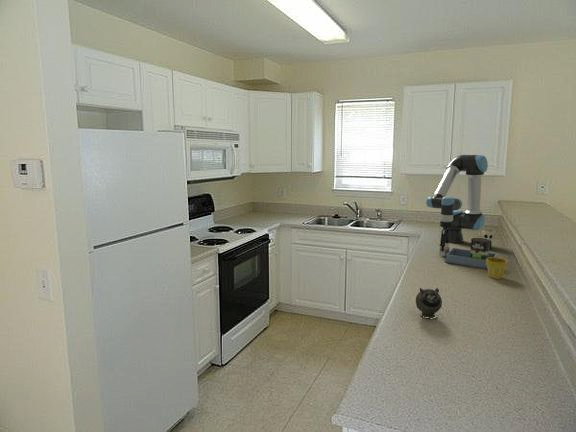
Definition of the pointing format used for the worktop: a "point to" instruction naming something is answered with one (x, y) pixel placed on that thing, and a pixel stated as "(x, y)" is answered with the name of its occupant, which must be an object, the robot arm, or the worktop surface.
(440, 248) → the brown wooden cube
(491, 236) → the character mug
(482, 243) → the coffee can
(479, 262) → the tote
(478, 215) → the robot arm
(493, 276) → the plant pot
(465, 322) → the worktop surface
